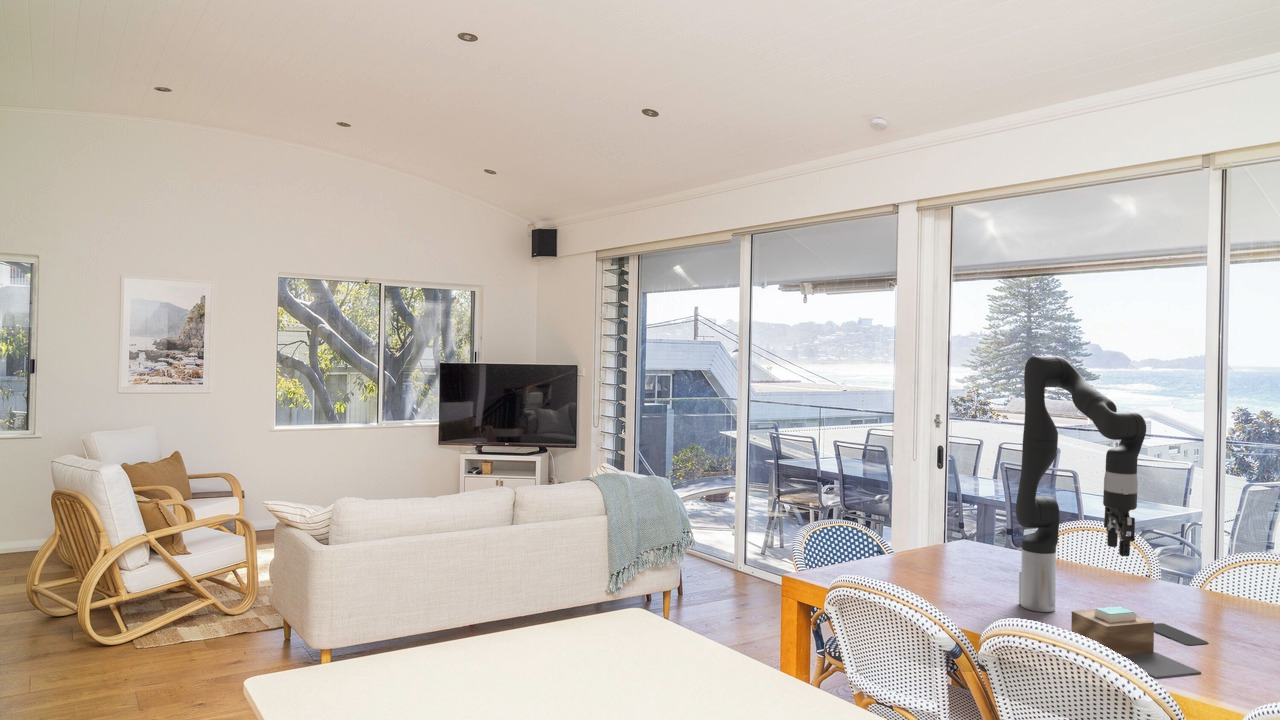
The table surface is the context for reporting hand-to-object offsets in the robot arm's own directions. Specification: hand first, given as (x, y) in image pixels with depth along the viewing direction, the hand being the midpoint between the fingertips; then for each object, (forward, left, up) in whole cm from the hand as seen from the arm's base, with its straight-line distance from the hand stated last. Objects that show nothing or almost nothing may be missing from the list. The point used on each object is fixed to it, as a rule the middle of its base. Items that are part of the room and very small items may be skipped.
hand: (1118, 551), depth 212 cm
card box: (+1, -2, -17) cm, 17 cm away
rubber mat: (+13, -1, -25) cm, 28 cm away
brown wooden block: (+1, -2, -25) cm, 25 cm away
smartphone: (-3, +22, -25) cm, 34 cm away
